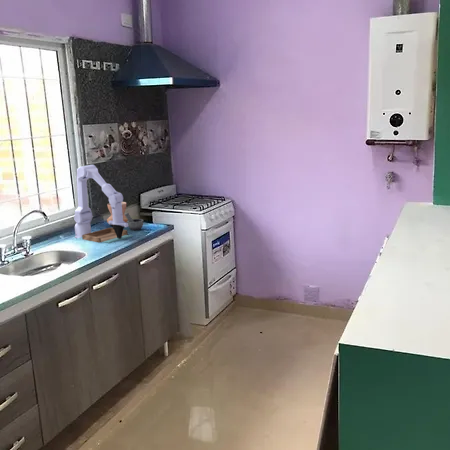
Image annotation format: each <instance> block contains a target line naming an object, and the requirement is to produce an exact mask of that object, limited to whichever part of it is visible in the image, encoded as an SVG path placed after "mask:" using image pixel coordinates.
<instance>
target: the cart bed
mask: <svg viewBox="0 0 450 450" xmlns="http://www.w3.org/2000/svg"><path fill="white" fill-rule="evenodd" d="M124 235H129V233H128V230H127V229H123V232H122V236H124ZM114 238H117V236H116V233H115V231H114V229H113V228H112V227H108V228H103V229H100V230H95V231H91V233H88V234H84V235H82V237H81V239H82V240H85V241H89V242H93V243H94V242H95V243H98V244H99V243H104V242H103V241H107V240H110V239H114Z"/></svg>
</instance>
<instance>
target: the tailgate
mask: <svg viewBox="0 0 450 450" xmlns="http://www.w3.org/2000/svg"><path fill="white" fill-rule="evenodd" d="M132 237H134V235H133V234H128V235H124V236H122V238H114V239H110V240H107V241H103V242H102V243H103V244H112V243H114V242H118V241H121V240H125V239H129V238H132Z"/></svg>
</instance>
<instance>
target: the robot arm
mask: <svg viewBox="0 0 450 450" xmlns="http://www.w3.org/2000/svg"><path fill="white" fill-rule="evenodd" d="M89 179H93V180H94V181H95V182H96V183H97V184H98V185H99V187H101V192H102V193H104V195H105V196H106V197H107V198H108V202H109V203H110V204H111V207H112V217H113V221H108V222H107V224H108V223H109V224H108V225H110V224H111V225H110V226H112V227H111V228H113V229H114V231H115V233H116V236H117V238H122V232H123V230H125V228H129V226H128V223H126V222H124V221H123V213H122V202H124V196H123V193H121V192H119V191H117V190H116V189H115V188H114V187H113V186H112V184H110V183H107V182H106V181H105V179H104V178H103V177H102V176H101V174H100V173H99V169H98V168H97V166H96V165H95V164H89V165H83V166H82V165H81V166H79V167H78V168H76V190H77V192H76V193H77V205H78V206H77V208H76V209H75V210H74V215H73V219H74V221H75V225H74V233H75V236H74V238H76V239H80V238H82V235H84V234H88V233H92V227H91V222H92V220H93V212H92V209H91V208H90V207H89V205H88V204H89V203H88V200H89V199H88V185H87V184H88V183H87V181H88V180H89ZM109 203H108V204H109Z"/></svg>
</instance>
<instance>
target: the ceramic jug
mask: <svg viewBox="0 0 450 450" xmlns="http://www.w3.org/2000/svg"><path fill="white" fill-rule="evenodd" d="M107 209H108V211H109V213H110V216H108V218H107V219H106V222H107V224H108V225H109V223H108V221H113V217H112V207H111V204H110V203H107ZM126 210H127V202H126V201H123V202H122V213H123V221H124V222H126V223H127V221H128V219H127V218H126V216H125V214H126ZM110 226H112V225H111V224H110Z"/></svg>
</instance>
